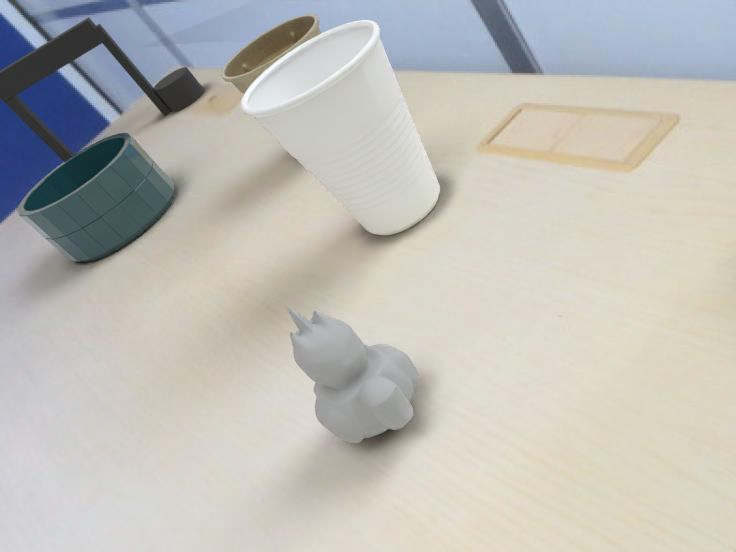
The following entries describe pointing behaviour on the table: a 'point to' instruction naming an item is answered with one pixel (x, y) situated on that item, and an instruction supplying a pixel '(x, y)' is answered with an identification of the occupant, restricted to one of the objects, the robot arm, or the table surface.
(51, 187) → the teal short open cylinder
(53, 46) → the dark grey frame
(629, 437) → the table surface
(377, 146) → the cup
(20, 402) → the table surface
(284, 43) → the flower pot
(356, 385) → the grey horned figurine
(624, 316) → the table surface
